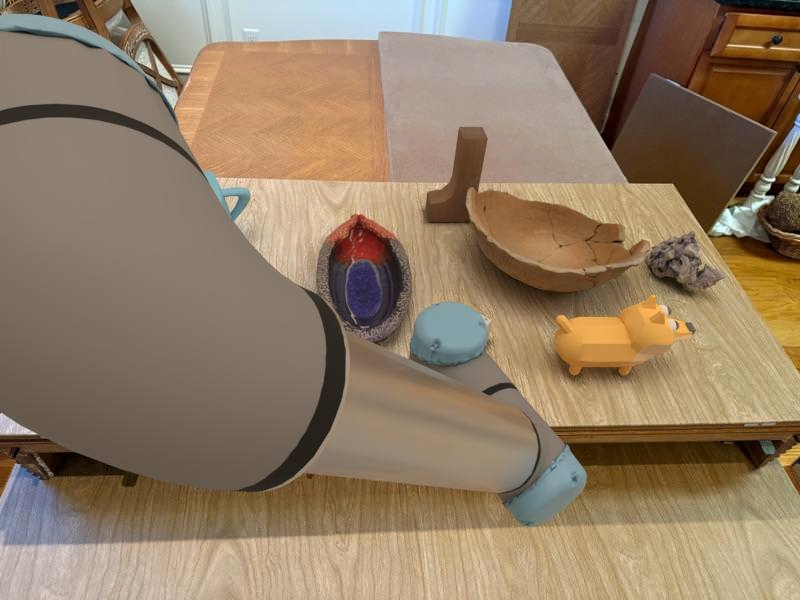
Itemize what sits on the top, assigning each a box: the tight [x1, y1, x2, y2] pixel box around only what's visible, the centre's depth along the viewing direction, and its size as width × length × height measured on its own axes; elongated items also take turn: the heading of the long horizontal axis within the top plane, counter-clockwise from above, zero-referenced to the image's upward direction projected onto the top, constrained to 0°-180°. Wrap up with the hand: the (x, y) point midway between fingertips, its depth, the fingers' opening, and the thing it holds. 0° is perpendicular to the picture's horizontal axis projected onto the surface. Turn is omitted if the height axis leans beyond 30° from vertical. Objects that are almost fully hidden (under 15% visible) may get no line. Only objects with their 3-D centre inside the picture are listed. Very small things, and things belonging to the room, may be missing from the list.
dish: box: [316, 213, 413, 345], centre depth 89 cm, size 16×31×5 cm, turn 3°
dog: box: [553, 294, 697, 377], centre depth 77 cm, size 8×20×13 cm, turn 93°
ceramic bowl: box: [466, 187, 651, 293], centre depth 93 cm, size 30×27×15 cm
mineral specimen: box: [647, 230, 727, 292], centre depth 95 cm, size 12×9×10 cm
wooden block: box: [424, 126, 488, 223], centre depth 101 cm, size 9×4×18 cm, turn 96°
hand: (201, 328), depth 71 cm, fingers closed on beverage cup, 6 cm apart
